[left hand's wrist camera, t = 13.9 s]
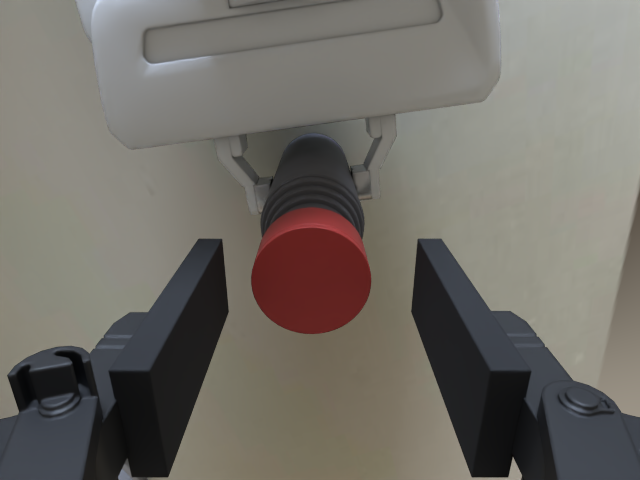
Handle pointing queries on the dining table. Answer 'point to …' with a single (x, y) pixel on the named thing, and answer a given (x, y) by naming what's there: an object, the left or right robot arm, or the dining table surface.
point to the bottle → (313, 182)
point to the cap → (311, 271)
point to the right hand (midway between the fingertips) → (316, 204)
